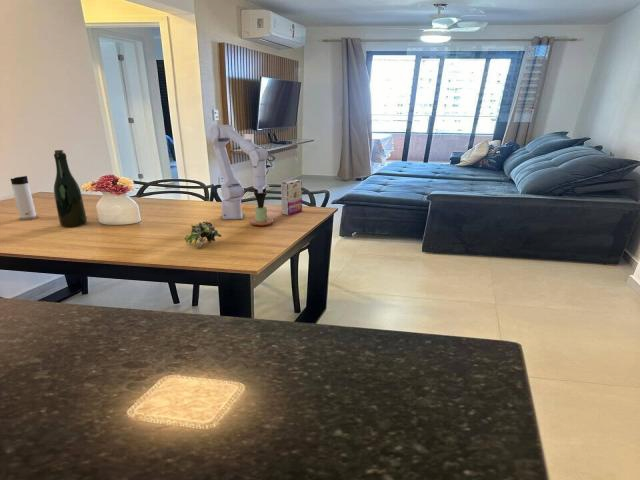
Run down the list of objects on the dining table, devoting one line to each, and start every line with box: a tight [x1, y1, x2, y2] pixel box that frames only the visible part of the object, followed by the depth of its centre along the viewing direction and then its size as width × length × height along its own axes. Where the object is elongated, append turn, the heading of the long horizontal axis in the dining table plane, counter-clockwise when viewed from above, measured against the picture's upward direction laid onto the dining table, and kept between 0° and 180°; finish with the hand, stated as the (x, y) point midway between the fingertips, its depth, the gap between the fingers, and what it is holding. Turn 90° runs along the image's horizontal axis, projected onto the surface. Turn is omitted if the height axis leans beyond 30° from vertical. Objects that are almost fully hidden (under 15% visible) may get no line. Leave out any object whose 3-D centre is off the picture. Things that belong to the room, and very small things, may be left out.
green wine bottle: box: [53, 149, 88, 228], centre depth 167 cm, size 10×10×33 cm
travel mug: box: [10, 175, 38, 221], centre depth 177 cm, size 6×7×20 cm
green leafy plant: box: [184, 220, 222, 249], centre depth 148 cm, size 11×11×12 cm
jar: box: [254, 205, 268, 222], centre depth 177 cm, size 5×5×6 cm
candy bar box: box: [280, 179, 303, 216], centre depth 196 cm, size 11×5×16 cm, turn 143°
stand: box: [248, 216, 274, 227], centre depth 178 cm, size 11×11×2 cm
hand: (260, 205), depth 175 cm, fingers open, 7 cm apart
